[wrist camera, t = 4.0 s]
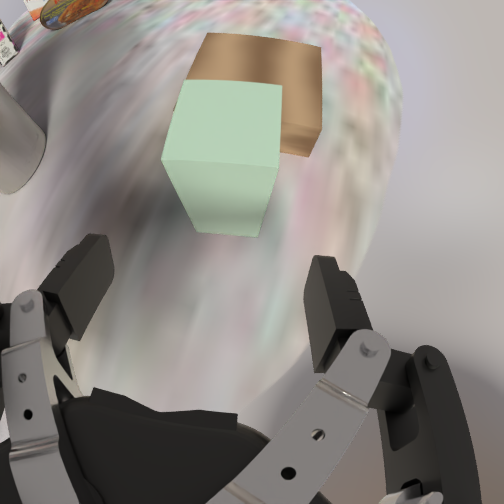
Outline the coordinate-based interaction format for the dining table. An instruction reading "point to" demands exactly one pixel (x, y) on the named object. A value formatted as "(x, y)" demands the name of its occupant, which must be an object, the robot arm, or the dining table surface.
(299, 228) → the dining table surface
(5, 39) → the candy bar box
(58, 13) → the tin
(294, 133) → the wooden block
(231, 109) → the green pillar
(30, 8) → the cracker box
